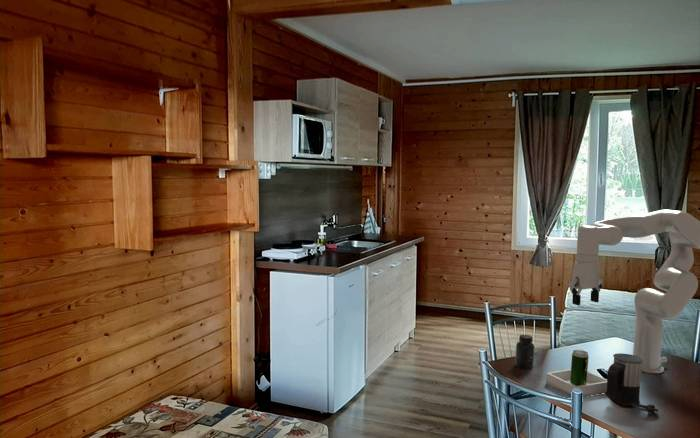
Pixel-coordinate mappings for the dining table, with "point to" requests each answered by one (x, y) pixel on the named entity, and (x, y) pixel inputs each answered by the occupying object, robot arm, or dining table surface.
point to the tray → (562, 383)
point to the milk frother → (626, 381)
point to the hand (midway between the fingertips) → (585, 303)
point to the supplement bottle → (524, 352)
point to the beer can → (579, 368)
